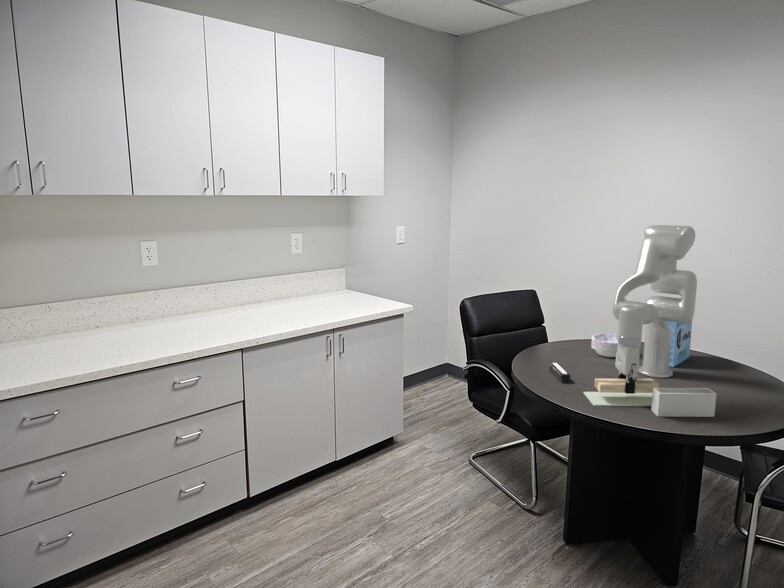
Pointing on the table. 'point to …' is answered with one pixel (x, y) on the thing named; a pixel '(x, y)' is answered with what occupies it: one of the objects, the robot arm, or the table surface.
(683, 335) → the gum box
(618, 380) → the beige wooden block
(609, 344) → the paper bowls
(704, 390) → the box
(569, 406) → the table surface
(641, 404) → the mat
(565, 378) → the bus
